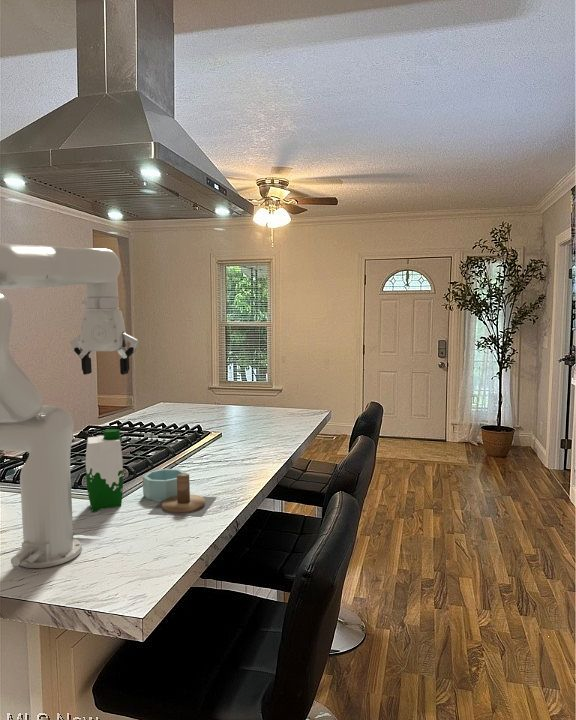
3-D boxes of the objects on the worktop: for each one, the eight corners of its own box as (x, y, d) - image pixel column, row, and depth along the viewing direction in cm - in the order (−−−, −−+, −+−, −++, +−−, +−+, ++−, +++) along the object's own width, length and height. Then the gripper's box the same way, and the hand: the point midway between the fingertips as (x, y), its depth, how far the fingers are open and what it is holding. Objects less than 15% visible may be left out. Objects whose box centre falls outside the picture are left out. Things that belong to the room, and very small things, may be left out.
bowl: (177, 503, 142) (177, 481, 141) (138, 502, 143) (137, 480, 143) (191, 490, 153) (190, 469, 152) (154, 488, 154) (153, 468, 154)
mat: (202, 518, 131) (202, 516, 131) (147, 516, 133) (147, 514, 133) (217, 499, 145) (217, 497, 145) (167, 497, 147) (167, 495, 147)
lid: (197, 513, 133) (197, 482, 132) (155, 512, 134) (154, 481, 134) (210, 498, 144) (209, 469, 143) (171, 497, 145) (170, 468, 145)
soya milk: (125, 509, 139) (122, 433, 137) (87, 513, 135) (84, 436, 134) (122, 498, 147) (120, 426, 145) (87, 502, 144) (84, 429, 142)
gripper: (61, 305, 129) (65, 375, 131) (130, 304, 127) (133, 376, 129) (77, 305, 136) (80, 372, 138) (142, 304, 134) (145, 372, 136)
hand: (105, 373), depth 133 cm, fingers open, 9 cm apart
